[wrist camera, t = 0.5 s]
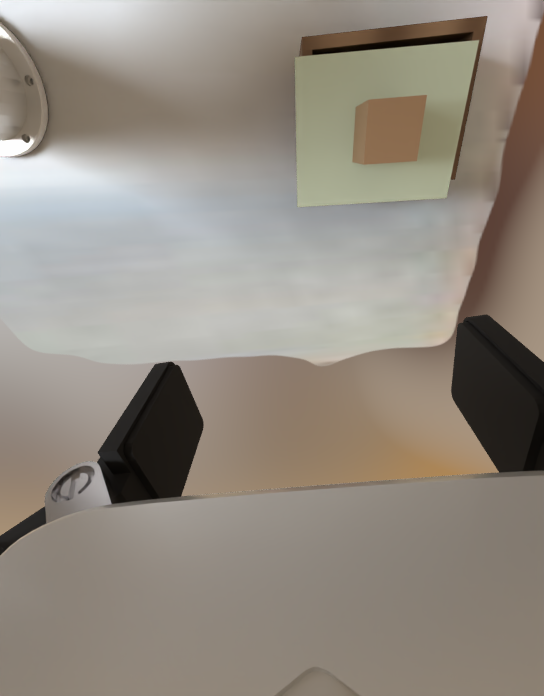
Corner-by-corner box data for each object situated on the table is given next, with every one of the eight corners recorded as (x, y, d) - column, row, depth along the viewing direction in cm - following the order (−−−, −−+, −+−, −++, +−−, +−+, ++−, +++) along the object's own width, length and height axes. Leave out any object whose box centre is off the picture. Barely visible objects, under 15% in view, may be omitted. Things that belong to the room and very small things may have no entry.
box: (301, 183, 38) (305, 191, 31) (298, 60, 32) (301, 37, 25) (423, 173, 37) (454, 179, 30) (443, 44, 31) (487, 16, 24)
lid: (297, 205, 32) (299, 216, 27) (294, 59, 26) (296, 38, 21) (443, 196, 31) (472, 206, 26) (473, 42, 25) (519, 17, 20)
